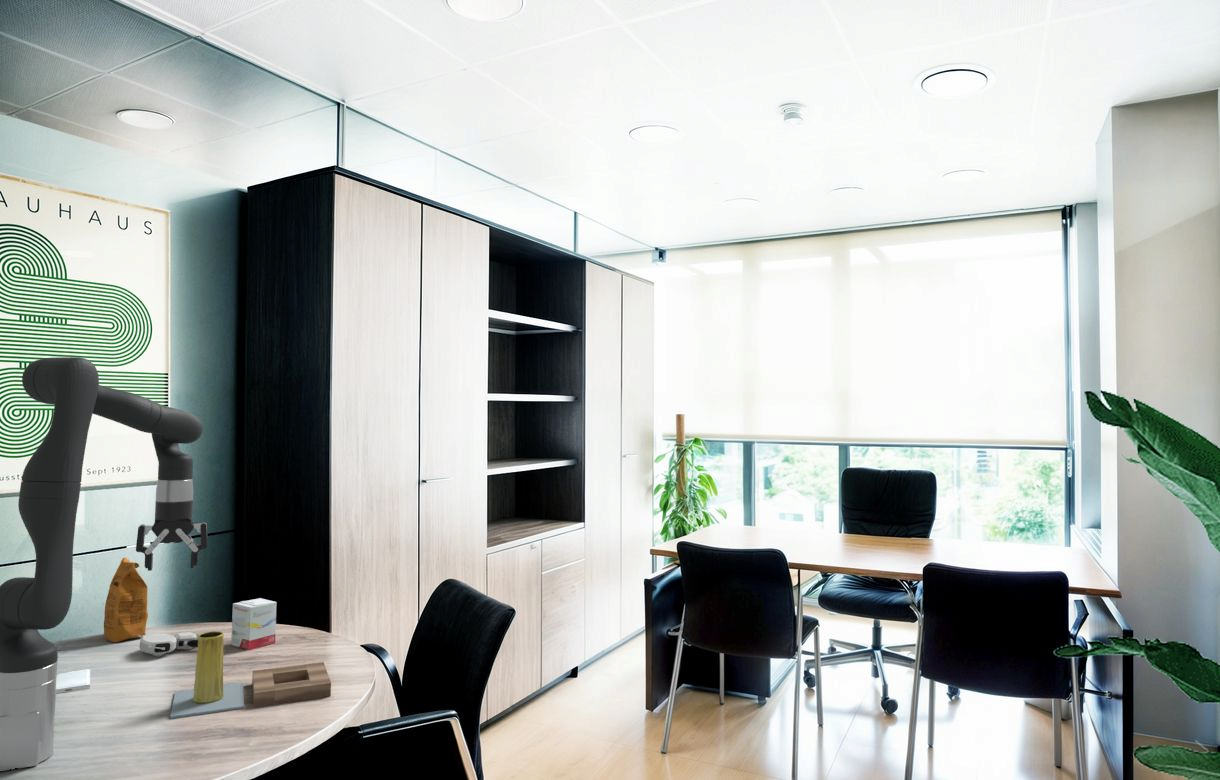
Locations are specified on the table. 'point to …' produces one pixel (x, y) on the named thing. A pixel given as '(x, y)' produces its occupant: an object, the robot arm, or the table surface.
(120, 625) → the coffee package
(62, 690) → the hard drive
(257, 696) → the pocket block
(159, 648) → the robot toy
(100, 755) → the table surface
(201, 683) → the vase
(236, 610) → the ink box
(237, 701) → the mat
